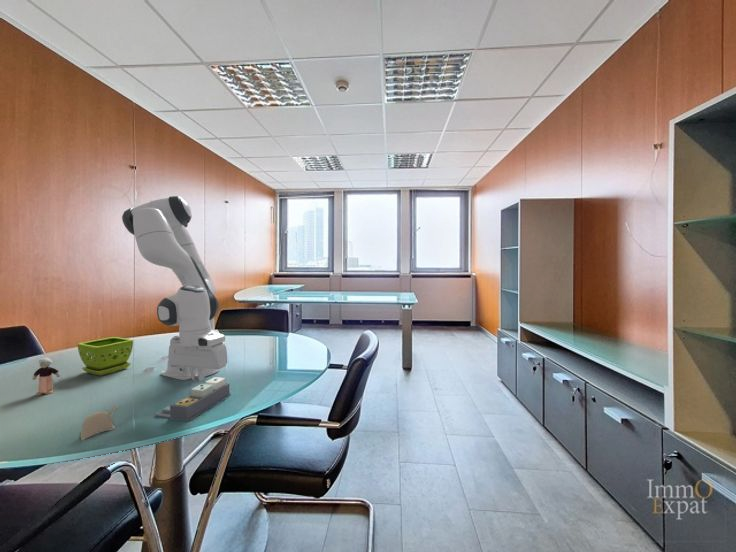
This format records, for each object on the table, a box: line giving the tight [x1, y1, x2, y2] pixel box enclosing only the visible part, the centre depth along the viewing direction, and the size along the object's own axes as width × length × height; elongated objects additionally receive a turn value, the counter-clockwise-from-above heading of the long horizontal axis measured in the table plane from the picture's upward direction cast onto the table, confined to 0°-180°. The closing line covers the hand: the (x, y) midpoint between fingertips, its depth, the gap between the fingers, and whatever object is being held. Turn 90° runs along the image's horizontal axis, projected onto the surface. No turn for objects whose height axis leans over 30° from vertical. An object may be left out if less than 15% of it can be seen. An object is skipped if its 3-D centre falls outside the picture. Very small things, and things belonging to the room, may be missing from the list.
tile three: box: [175, 397, 199, 407], centre depth 92 cm, size 4×4×4 cm
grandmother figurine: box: [31, 356, 61, 396], centre depth 107 cm, size 8×4×13 cm, turn 117°
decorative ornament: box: [79, 405, 119, 441], centre depth 83 cm, size 4×8×5 cm, turn 142°
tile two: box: [190, 383, 213, 398], centre depth 97 cm, size 4×4×4 cm
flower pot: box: [77, 336, 134, 376], centre depth 129 cm, size 14×14×13 cm
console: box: [154, 382, 232, 422], centre depth 98 cm, size 12×18×4 cm, turn 166°
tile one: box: [204, 376, 227, 390], centre depth 103 cm, size 4×4×4 cm
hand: (198, 380), depth 96 cm, fingers closed
